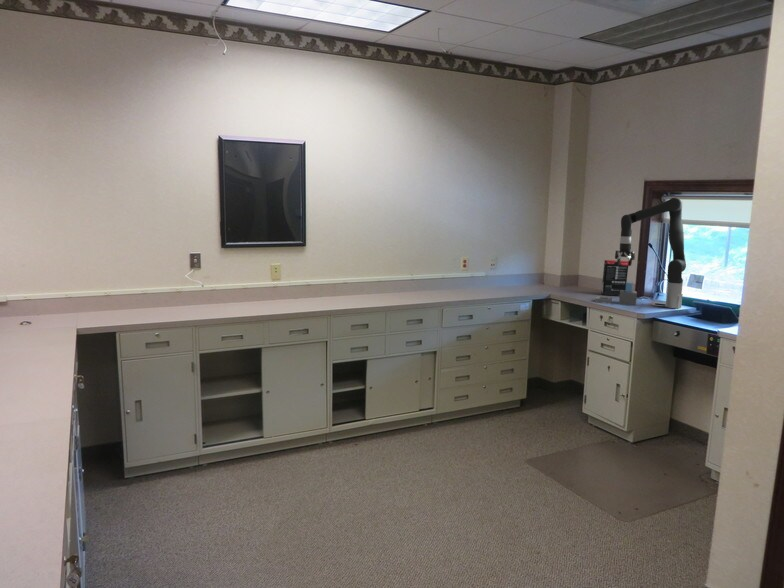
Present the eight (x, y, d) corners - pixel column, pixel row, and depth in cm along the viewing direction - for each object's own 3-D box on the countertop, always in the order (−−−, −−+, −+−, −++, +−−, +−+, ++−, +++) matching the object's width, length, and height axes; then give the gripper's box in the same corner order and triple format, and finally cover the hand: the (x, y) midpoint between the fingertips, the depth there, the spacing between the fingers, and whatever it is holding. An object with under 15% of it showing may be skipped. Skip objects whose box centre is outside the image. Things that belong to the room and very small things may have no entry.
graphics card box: (623, 295, 444) (626, 260, 440) (626, 296, 437) (629, 261, 433) (600, 294, 446) (603, 259, 441) (603, 295, 439) (606, 260, 435)
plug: (631, 295, 406) (632, 282, 405) (631, 295, 402) (632, 283, 401) (625, 294, 408) (626, 282, 406) (625, 295, 404) (626, 282, 402)
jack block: (635, 303, 409) (636, 291, 408) (635, 305, 399) (636, 293, 397) (595, 299, 419) (596, 288, 417) (595, 302, 409) (596, 290, 407)
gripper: (637, 243, 403) (636, 266, 405) (619, 242, 415) (618, 264, 417) (631, 243, 399) (629, 266, 401) (613, 242, 411) (612, 264, 413)
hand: (624, 265), depth 409 cm, fingers open, 8 cm apart
